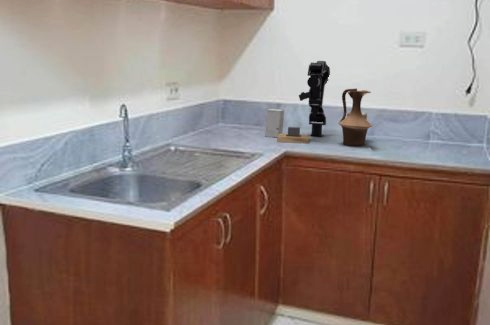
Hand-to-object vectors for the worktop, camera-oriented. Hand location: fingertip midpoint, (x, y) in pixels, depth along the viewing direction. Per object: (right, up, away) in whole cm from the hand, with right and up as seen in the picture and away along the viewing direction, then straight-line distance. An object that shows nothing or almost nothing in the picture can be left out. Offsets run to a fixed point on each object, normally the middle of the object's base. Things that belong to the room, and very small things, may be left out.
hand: (313, 117), depth 264 cm
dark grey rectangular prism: (-11, -13, -3) cm, 17 cm away
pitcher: (+18, -15, -11) cm, 26 cm away
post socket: (-11, -13, -3) cm, 17 cm away
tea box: (+22, -13, +1) cm, 25 cm away
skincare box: (-20, -10, +10) cm, 25 cm away
